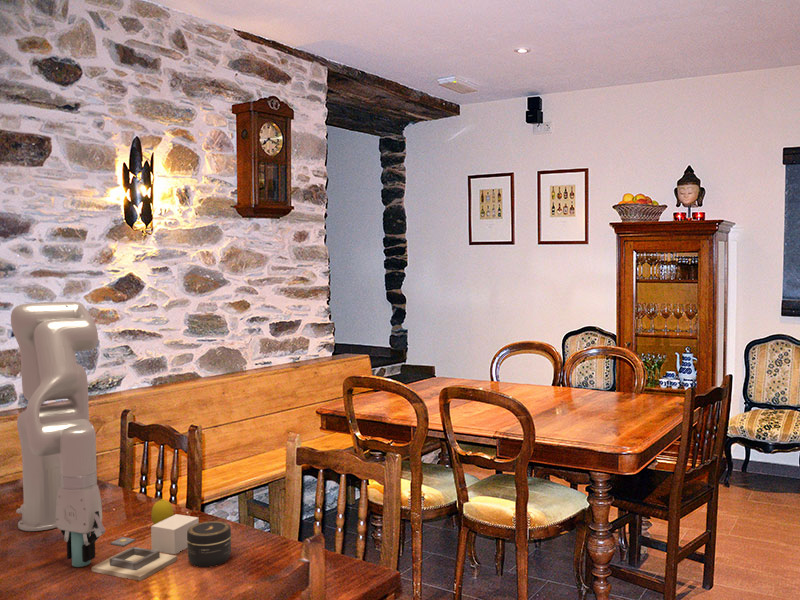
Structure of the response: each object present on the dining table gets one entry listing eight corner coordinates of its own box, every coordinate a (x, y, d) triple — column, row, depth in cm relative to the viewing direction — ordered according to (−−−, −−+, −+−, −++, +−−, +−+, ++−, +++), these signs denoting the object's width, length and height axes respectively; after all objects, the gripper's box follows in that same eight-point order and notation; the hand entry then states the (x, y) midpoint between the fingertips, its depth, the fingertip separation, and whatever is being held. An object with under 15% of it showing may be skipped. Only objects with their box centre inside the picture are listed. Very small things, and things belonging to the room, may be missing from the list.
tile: (110, 544, 178) (110, 541, 178) (122, 538, 182) (122, 536, 182) (123, 546, 177) (123, 544, 176) (135, 540, 180) (135, 538, 180)
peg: (67, 565, 165) (66, 531, 165) (81, 558, 169) (80, 525, 168) (81, 568, 163) (80, 533, 163) (94, 561, 167) (93, 527, 167)
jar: (233, 550, 174) (232, 519, 173) (230, 566, 164) (229, 534, 164) (190, 553, 172) (189, 521, 172) (185, 570, 162) (184, 537, 162)
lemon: (167, 533, 185) (166, 503, 185) (147, 532, 186) (146, 501, 186) (177, 526, 190) (177, 496, 190) (158, 524, 191) (158, 495, 191)
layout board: (91, 571, 162) (91, 560, 162) (130, 551, 173) (130, 541, 173) (140, 581, 157) (140, 569, 157) (177, 560, 168) (176, 549, 168)
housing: (151, 550, 174) (151, 526, 174) (176, 537, 182) (176, 514, 182) (175, 554, 171) (174, 529, 171) (199, 541, 179) (198, 517, 179)
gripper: (38, 480, 165) (41, 559, 166) (94, 489, 158) (96, 570, 159) (65, 472, 172) (67, 547, 173) (119, 479, 165) (121, 557, 166)
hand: (81, 557), depth 166 cm, fingers closed on peg, 4 cm apart
